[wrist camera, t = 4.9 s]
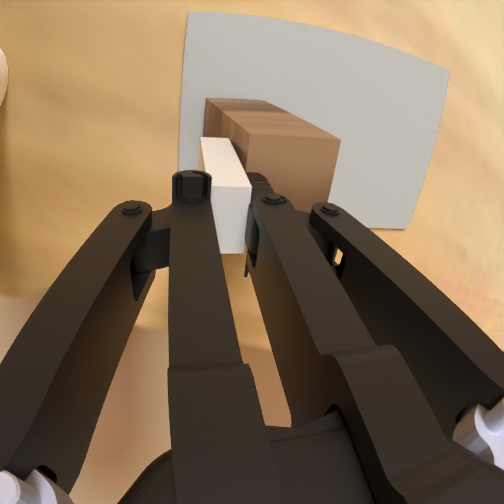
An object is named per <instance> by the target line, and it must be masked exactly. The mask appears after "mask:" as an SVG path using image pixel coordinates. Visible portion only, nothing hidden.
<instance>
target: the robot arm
mask: <svg viewBox="0 0 504 504" xmlns="http://www.w3.org/2000/svg"><path fill="white" fill-rule="evenodd" d="M245 241H246V244H247V248H248V249H247V257H246V264H245V272H244V277H247V274H248V272H250V275H251V279H252V282H253V286H254V289H255V293H256V296H257V300H258V303H259V307H260V310H261V314H262V317H263V321H264V324H265V327H266V331H267V334H268V338H269V341H270V345H271V348H272V352H273V355H274V358H275V362H276V365H277V369H278V372H279V376H280V379H281V382H282V386H283V389H284V392H285V396H286V399H287V403H288V406H289V410H290V414H291V421H292V423H291V428H290V427H276V426H265V423H264V419H263V415H262V411H261V407H260V403H259V399H258V395H257V390H256V386H255V382H254V378H253V374H252V371H251V368H250V367H249V365H248V364H244V363H243V361H242V358H241V353H240V348H239V343H238V339H237V334H236V329H235V324H234V319H233V314H232V309H231V305H230V300H229V295H228V289H227V284H226V279H225V274H224V269H223V264H222V259H221V254H235V253H244V249H245ZM338 249H339V250H340V251H341V252H342V253H343V256H342V259H341V262H340V264H339V265H338V264H337V263H336V262H335V261H334V260H335V257H336V253H337V250H338ZM164 267H169V296H168V332H169V368H168V372H167V374H168V403H169V420H170V434H171V448H172V449H170V450H169V451H167V452H165V453H163V454H162V455H160V456H159V457H158V458H156V459H155V460H154V461H153V462H152V463H151V464H150V465H149V466H147V467H146V469H145V470H144V471H143V472H142V473H141V474H140V476H139V477H138V478H137V480H136V481H135V482H134V483H133V485H132V486H131V487H130V488H129V490H128V491H127V492H126V493H125V495H124V496H123V497H122V498H121V500H120V501H119V502H118V503H117V504H504V352H503V351H502V350H501V349H500V348H499V347H498V346H497V345H496V344H495V343H494V342H493V341H492V340H491V339H490V338H489V337H488V336H487V335H486V334H485V333H484V332H483V331H482V330H481V329H480V328H479V327H478V326H477V325H476V324H475V323H474V322H473V321H472V320H471V319H470V318H469V317H468V316H467V315H466V314H465V313H464V312H463V311H462V310H461V309H460V308H459V307H458V306H457V305H456V304H454V303H453V302H452V301H451V300H450V299H449V298H448V297H447V296H446V295H445V294H444V293H443V292H442V291H440V290H439V289H438V288H437V287H436V286H435V285H434V284H433V283H432V282H431V281H429V280H428V279H427V278H426V277H425V276H424V275H423V274H422V273H420V272H419V271H418V270H417V269H416V268H415V267H414V266H412V265H411V264H410V263H409V262H408V261H407V260H405V259H404V258H403V257H402V256H401V255H400V254H398V253H397V252H396V251H395V250H394V249H392V248H391V247H390V246H389V245H388V244H386V243H385V242H384V241H383V240H382V239H380V238H379V237H378V236H377V235H376V234H374V233H373V232H372V231H371V230H369V229H368V228H367V227H366V226H364V225H363V224H362V223H361V222H359V221H358V220H357V219H356V218H354V217H353V216H352V215H350V214H349V213H348V212H347V211H345V210H344V209H342V208H341V207H339V206H337V205H334V204H333V203H329V202H324V203H323V202H319V203H315V204H314V205H312V209H311V213H308V212H303V211H298V210H295V208H294V206H293V205H292V203H291V202H290V200H289V199H287V198H286V197H285V196H282V195H279V194H276V193H275V192H274V190H273V188H272V187H271V185H270V183H269V182H268V180H267V178H266V177H265V176H263V175H262V174H260V173H254V172H245V171H244V169H243V167H242V165H241V163H240V161H239V158H238V156H237V154H236V152H235V150H234V148H233V146H232V144H231V142H230V140H229V138H213V137H200V149H199V167H198V170H184V171H179V172H177V173H175V174H174V175H173V176H172V204H171V205H170V206H168V207H167V208H164V209H161V210H157V211H152V207H151V206H150V204H148V203H146V202H142V201H134V200H131V201H125V202H124V203H121V204H119V205H117V206H116V207H114V208H113V209H112V211H111V212H110V213H109V214H108V215H107V216H106V218H105V219H104V220H103V221H102V222H101V223H100V225H99V226H98V227H97V228H96V229H95V230H94V232H93V233H92V234H91V235H90V236H89V238H88V239H87V240H86V241H85V243H84V244H83V245H82V246H81V248H80V249H79V250H78V251H77V253H76V254H75V255H74V256H73V258H72V259H71V260H70V262H69V263H68V264H67V265H66V267H65V268H64V269H63V271H62V272H61V273H60V275H59V276H58V277H57V279H56V280H55V281H54V283H53V284H52V286H51V287H50V288H49V290H48V291H47V292H46V294H45V295H44V297H43V298H42V300H41V301H40V302H39V304H38V305H37V307H36V308H35V310H34V311H33V313H32V314H31V316H30V317H29V319H28V320H27V322H26V323H25V325H24V326H23V328H22V329H21V331H20V332H19V334H18V336H17V337H16V339H15V341H14V342H13V344H12V345H11V347H10V349H9V350H8V352H7V354H6V355H5V357H4V359H3V360H2V362H1V364H0V504H74V503H73V502H72V500H71V498H70V497H69V496H68V495H69V493H70V492H71V490H72V488H73V486H74V484H75V482H76V480H77V478H78V476H79V474H80V471H81V468H82V465H83V463H84V460H85V458H86V454H87V451H88V448H89V445H90V442H91V439H92V436H93V432H94V430H95V427H96V424H97V421H98V418H99V415H100V412H101V409H102V407H103V403H104V401H105V398H106V395H107V393H108V390H109V387H110V385H111V381H112V379H113V376H114V374H115V371H116V368H117V366H118V363H119V361H120V358H121V356H122V353H123V351H124V348H125V346H126V343H127V341H128V338H129V336H130V333H131V331H132V329H133V326H134V324H135V321H136V319H137V317H138V314H139V312H140V310H141V307H142V305H143V303H144V300H145V298H146V296H147V294H148V291H149V289H150V287H151V285H152V282H153V280H154V278H155V273H156V271H155V270H156V269H160V268H164Z"/></svg>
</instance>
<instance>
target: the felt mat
mask: <svg viewBox="0 0 504 504" xmlns="http://www.w3.org/2000/svg"><path fill="white" fill-rule="evenodd" d="M450 72H451V71H450V70H448V69H446V68H444V67H441V66H439V65H437V64H434V63H432V62H430V61H427V60H425V59H422V58H420V57H417V56H415V55H412V54H410V53H407V52H404V51H402V50H399V49H396V48H393V47H390V46H387V45H384V44H381V43H378V42H375V41H372V40H368V39H365V38H362V37H358V36H355V35H351V34H347V33H344V32H340V31H336V30H332V29H327V28H323V27H319V26H314V25H309V24H304V23H299V22H294V21H288V20H282V19H276V18H269V17H261V16H253V15H244V14H234V13H221V12H202V11H188V20H187V30H186V40H185V51H184V63H183V77H182V92H181V111H180V134H179V171H184V170H198V167H199V149H200V137H203V129H204V114H205V100H206V98H226V99H247V100H263V101H266V102H268V103H271V104H273V105H275V106H277V107H279V108H281V109H283V110H285V111H287V112H289V113H291V114H293V115H295V116H297V117H299V118H301V119H303V120H305V121H307V122H309V123H311V124H313V125H315V126H317V127H319V128H320V129H322V130H324V131H326V132H328V133H330V134H332V135H333V136H335V137H337V138H339V139H341V143H340V148H339V153H338V158H337V162H336V167H335V172H334V176H333V181H332V185H331V190H330V194H329V198H328V202H329V203H333V204H334V205H337V206H339V207H341V208H342V209H344V210H345V211H347V212H348V213H349V214H350V215H352V216H353V217H354V218H356V219H357V220H358V221H359V222H361V223H362V224H363V225H364V226H366V227H367V228H391V229H407V228H408V226H409V223H410V220H411V217H412V215H413V212H414V209H415V206H416V203H417V200H418V197H419V194H420V191H421V188H422V184H423V181H424V178H425V175H426V171H427V168H428V165H429V161H430V158H431V154H432V151H433V147H434V143H435V139H436V136H437V132H438V128H439V124H440V119H441V115H442V111H443V106H444V102H445V97H446V92H447V88H448V82H449V77H450Z"/></svg>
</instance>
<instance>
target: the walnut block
mask: <svg viewBox="0 0 504 504" xmlns="http://www.w3.org/2000/svg"><path fill="white" fill-rule="evenodd" d="M203 137H213V138H229V140H230V142H231V144H232V146H233V148H234V150H235V152H236V154H237V156H238V158H239V161H240V163H241V165H242V167H243V169H244V171H245V172H254V173H260V174H262V175H263V176H265V177H266V178H267V180H268V182H269V183H270V185H271V187H272V188H273V190H274V192H275V193H276V194H279V195H282V196H285V197H286V198H287V199H289V200H290V202H291V203H292V205H293V206H294V208H295V210H298V211H303V212H308V213H311V209H312V205H314V204H315V203H319V202H323V203H324V202H328V198H329V194H330V190H331V185H332V181H333V176H334V172H335V167H336V162H337V158H338V153H339V148H340V143H341V139H339V138H337V137H335V136H333V135H332V134H330V133H328V132H326V131H324V130H322V129H320V128H319V127H317V126H315V125H313V124H311V123H309V122H307V121H305V120H303V119H301V118H299V117H297V116H295V115H293V114H291V113H289V112H287V111H285V110H283V109H281V108H279V107H277V106H275V105H273V104H271V103H268V102H266V101H263V100H247V99H226V98H206V100H205V114H204V129H203Z"/></svg>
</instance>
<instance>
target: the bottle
mask: <svg viewBox="0 0 504 504" xmlns="http://www.w3.org/2000/svg"><path fill="white" fill-rule="evenodd" d="M7 86H8V66H7V61H6V56H5V55H4V53H3V51H2V49H1V48H0V106H1V104H2V102H3V100H4V97H5V93H6V90H7Z"/></svg>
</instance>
